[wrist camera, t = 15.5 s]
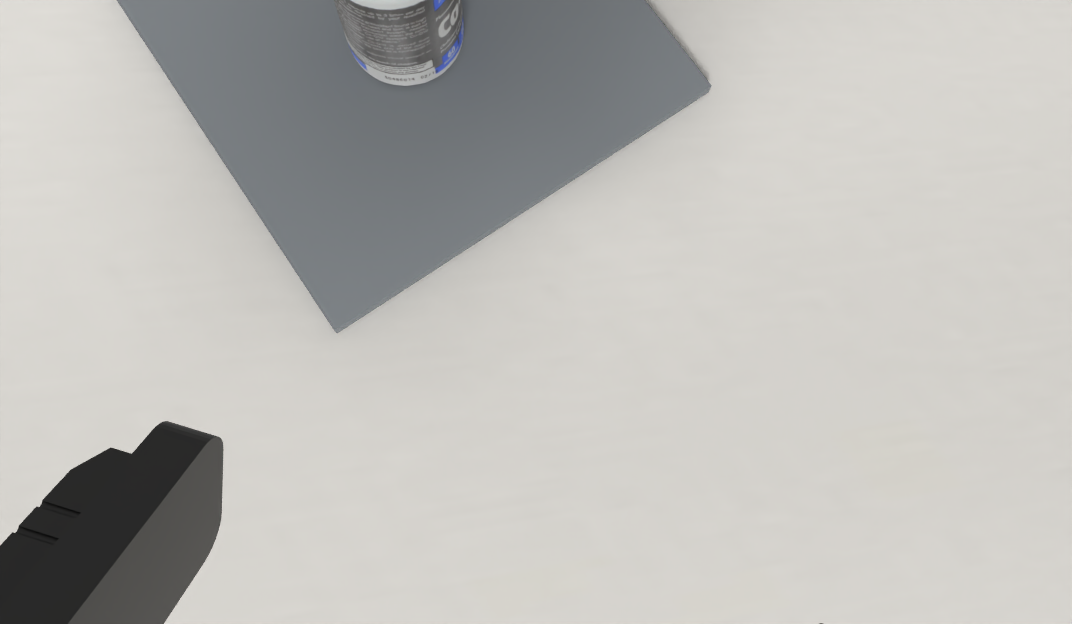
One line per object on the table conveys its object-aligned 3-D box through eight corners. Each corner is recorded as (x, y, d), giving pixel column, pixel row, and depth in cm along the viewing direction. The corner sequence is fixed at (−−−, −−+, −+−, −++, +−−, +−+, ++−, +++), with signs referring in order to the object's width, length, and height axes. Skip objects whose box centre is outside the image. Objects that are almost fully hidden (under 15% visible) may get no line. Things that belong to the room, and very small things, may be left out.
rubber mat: (466, -220, 40) (465, -231, 40) (708, 92, 38) (711, 85, 37) (105, -19, 38) (99, -27, 37) (337, 333, 35) (334, 330, 34)
